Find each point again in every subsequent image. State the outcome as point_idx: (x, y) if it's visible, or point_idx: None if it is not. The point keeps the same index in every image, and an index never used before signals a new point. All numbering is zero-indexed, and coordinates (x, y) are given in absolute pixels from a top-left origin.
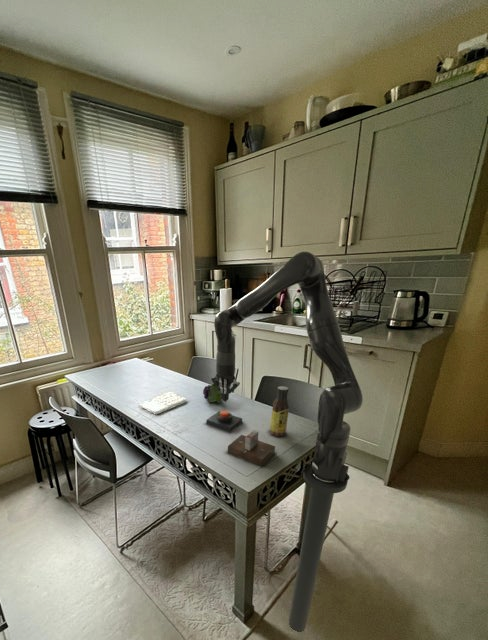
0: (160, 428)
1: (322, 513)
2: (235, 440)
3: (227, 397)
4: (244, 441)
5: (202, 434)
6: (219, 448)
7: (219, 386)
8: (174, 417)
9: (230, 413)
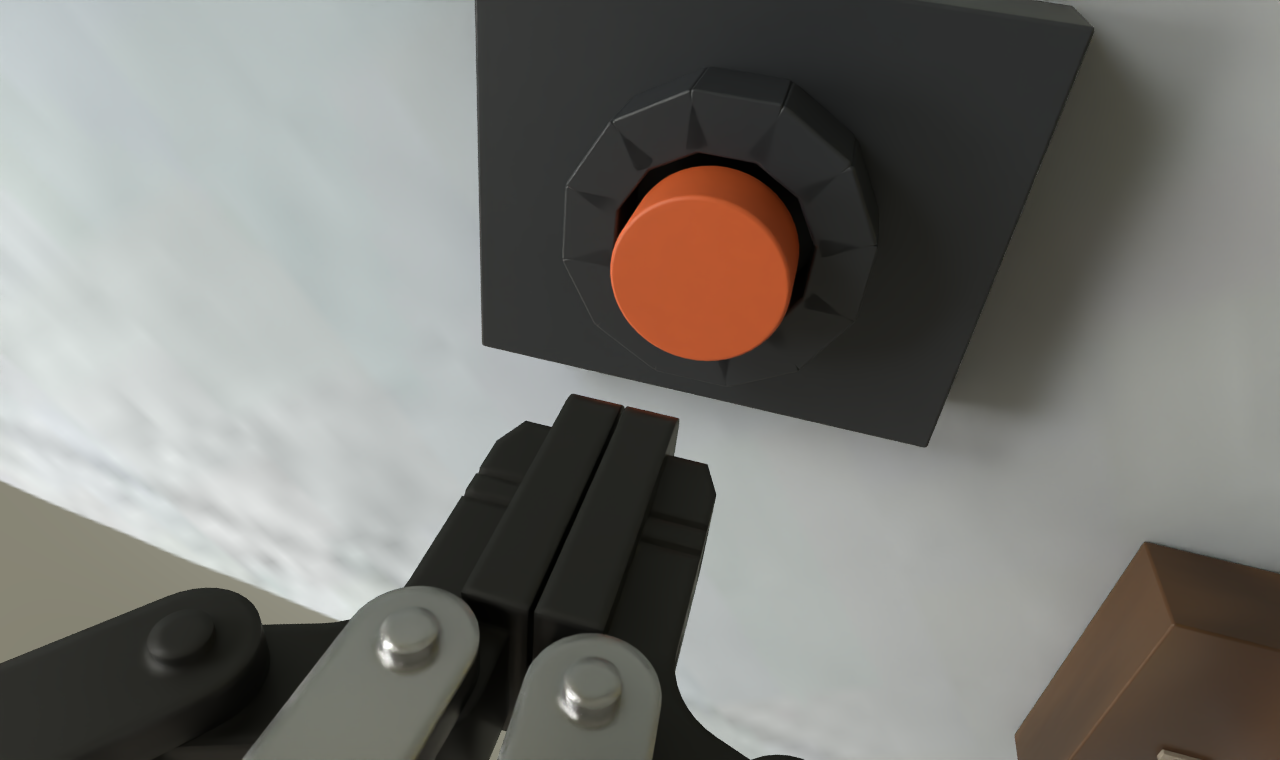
0: (203, 529)
1: None
2: (1100, 738)
3: (690, 607)
4: (1240, 742)
5: None
6: (903, 690)
7: (89, 694)
8: (93, 297)
9: (797, 122)
